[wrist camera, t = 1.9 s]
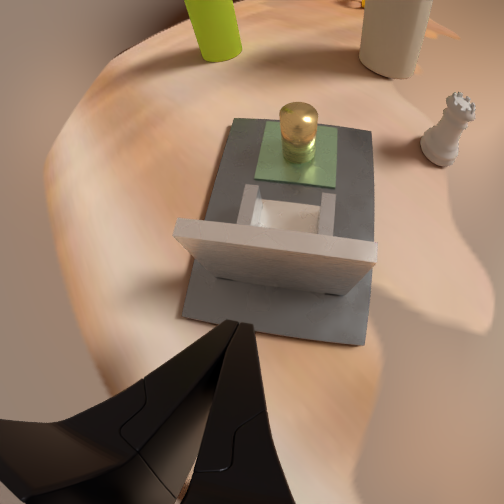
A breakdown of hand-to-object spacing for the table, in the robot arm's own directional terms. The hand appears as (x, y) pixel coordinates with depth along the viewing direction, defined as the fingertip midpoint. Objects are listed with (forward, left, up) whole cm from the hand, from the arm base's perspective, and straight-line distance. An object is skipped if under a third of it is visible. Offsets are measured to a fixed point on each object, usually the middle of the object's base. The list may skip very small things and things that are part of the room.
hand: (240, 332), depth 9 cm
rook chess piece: (+16, -20, -14) cm, 29 cm away
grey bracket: (+7, -2, -12) cm, 14 cm away
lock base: (+10, -3, -14) cm, 17 cm away
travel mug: (+32, -20, -14) cm, 40 cm away
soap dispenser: (+38, +3, -14) cm, 41 cm away
